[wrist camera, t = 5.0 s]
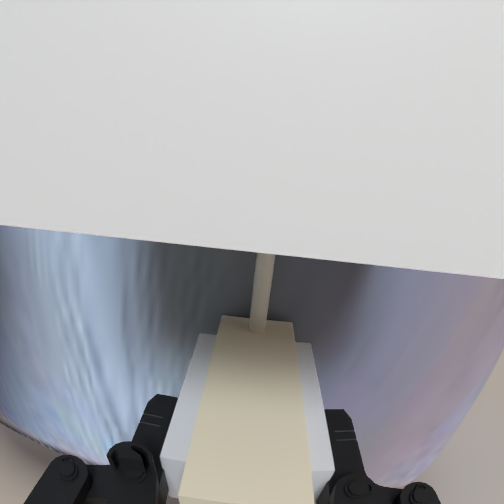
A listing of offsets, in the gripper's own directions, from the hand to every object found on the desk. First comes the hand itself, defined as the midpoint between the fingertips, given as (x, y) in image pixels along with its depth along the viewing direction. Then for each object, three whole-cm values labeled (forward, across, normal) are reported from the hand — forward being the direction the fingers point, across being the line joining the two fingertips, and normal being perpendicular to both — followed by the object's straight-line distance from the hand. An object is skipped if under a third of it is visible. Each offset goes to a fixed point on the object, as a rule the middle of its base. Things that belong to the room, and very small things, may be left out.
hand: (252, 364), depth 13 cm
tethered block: (+1, 0, +8) cm, 9 cm away
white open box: (+2, 0, +15) cm, 15 cm away
